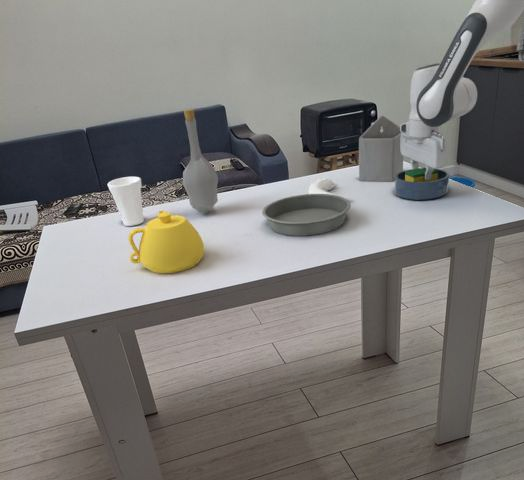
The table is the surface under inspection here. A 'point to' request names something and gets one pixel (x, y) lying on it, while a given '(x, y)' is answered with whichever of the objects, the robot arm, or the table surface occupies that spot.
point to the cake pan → (306, 214)
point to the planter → (380, 152)
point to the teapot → (167, 244)
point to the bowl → (421, 187)
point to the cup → (128, 199)
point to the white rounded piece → (321, 187)
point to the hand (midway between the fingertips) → (421, 177)
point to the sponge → (420, 175)
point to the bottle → (199, 172)
